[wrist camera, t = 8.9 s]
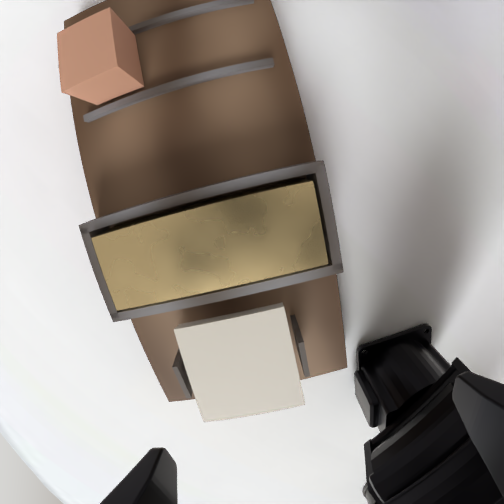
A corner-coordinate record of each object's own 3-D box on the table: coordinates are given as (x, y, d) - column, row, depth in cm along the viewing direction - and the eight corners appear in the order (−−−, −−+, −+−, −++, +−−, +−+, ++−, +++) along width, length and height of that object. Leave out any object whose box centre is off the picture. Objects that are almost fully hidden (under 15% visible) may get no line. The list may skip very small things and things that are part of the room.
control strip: (254, -26, 14) (256, -70, 9) (339, 352, 22) (361, 396, 17) (76, 30, 15) (40, 4, 10) (173, 385, 22) (160, 432, 17)
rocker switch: (282, 302, 17) (284, 306, 16) (302, 395, 17) (305, 404, 16) (179, 324, 17) (173, 329, 16) (207, 412, 17) (203, 422, 16)
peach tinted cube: (135, 35, 13) (109, 7, 10) (144, 86, 14) (117, 66, 11) (90, 54, 14) (57, 33, 10) (97, 105, 14) (61, 92, 11)
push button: (302, 178, 16) (313, 180, 14) (316, 250, 17) (328, 263, 15) (110, 228, 16) (91, 238, 14) (131, 292, 17) (117, 310, 15)
